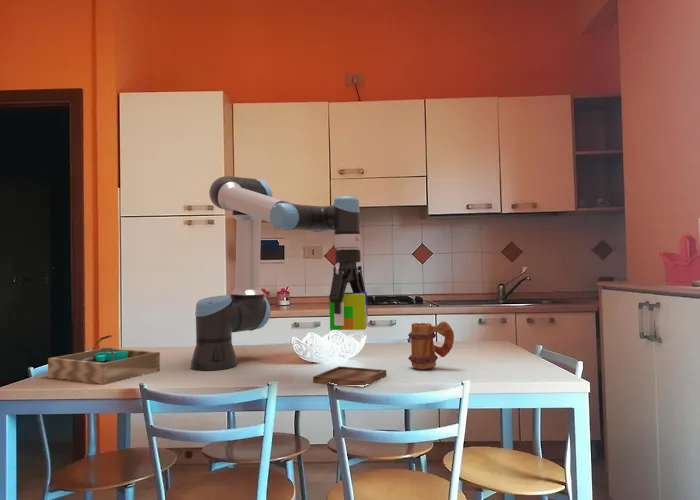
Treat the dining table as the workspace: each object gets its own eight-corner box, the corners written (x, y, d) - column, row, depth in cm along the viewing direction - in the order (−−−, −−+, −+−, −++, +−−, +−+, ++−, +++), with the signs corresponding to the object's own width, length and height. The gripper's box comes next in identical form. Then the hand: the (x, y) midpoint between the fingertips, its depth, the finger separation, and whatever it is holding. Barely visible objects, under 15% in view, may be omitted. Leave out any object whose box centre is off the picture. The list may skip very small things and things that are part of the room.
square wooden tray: (313, 382, 154) (313, 376, 154) (339, 372, 168) (339, 366, 168) (363, 387, 147) (363, 381, 147) (386, 376, 161) (386, 370, 161)
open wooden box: (48, 377, 168) (48, 358, 169) (106, 365, 188) (106, 348, 188) (103, 384, 157) (103, 363, 157) (159, 370, 176) (159, 352, 176)
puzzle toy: (367, 325, 162) (366, 292, 162) (365, 329, 152) (364, 294, 152) (334, 325, 163) (334, 292, 163) (330, 329, 153) (329, 294, 154)
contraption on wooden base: (68, 382, 162) (68, 332, 162) (93, 370, 180) (92, 325, 180) (116, 380, 163) (116, 330, 163) (136, 368, 181) (135, 323, 181)
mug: (405, 370, 169) (404, 322, 170) (412, 365, 177) (411, 319, 177) (451, 372, 164) (450, 323, 164) (456, 367, 171) (455, 320, 172)
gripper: (339, 248, 146) (341, 328, 145) (375, 249, 167) (377, 319, 167) (315, 249, 149) (317, 327, 149) (354, 250, 171) (355, 318, 170)
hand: (349, 323), depth 158 cm, fingers closed on puzzle toy, 12 cm apart
